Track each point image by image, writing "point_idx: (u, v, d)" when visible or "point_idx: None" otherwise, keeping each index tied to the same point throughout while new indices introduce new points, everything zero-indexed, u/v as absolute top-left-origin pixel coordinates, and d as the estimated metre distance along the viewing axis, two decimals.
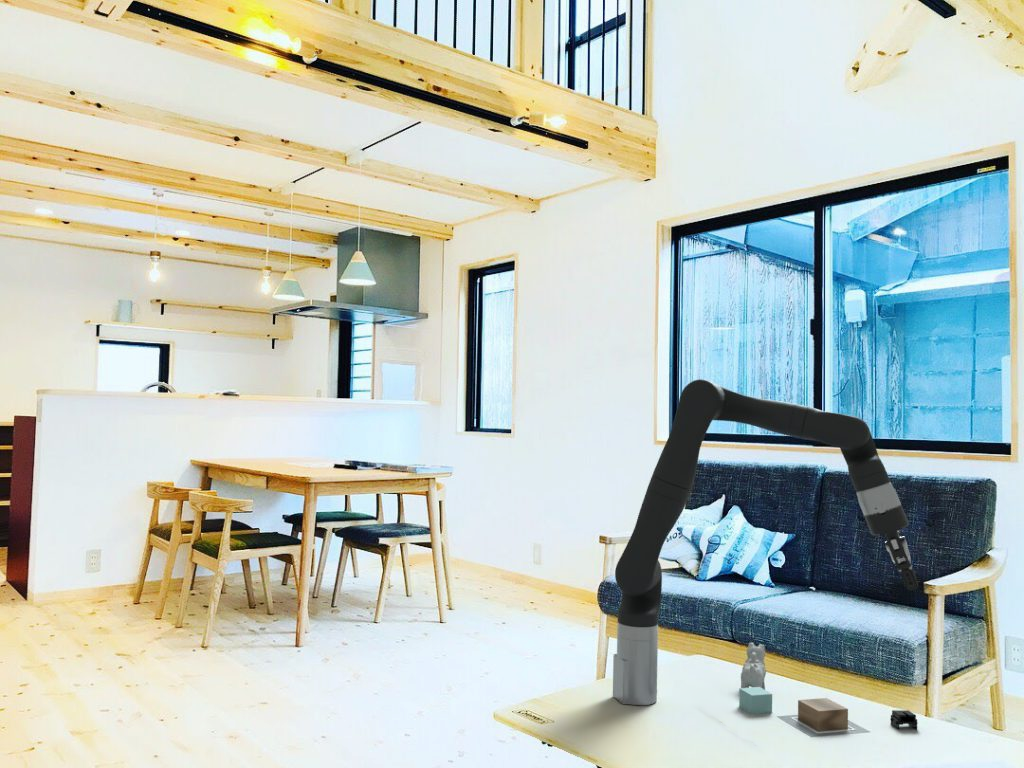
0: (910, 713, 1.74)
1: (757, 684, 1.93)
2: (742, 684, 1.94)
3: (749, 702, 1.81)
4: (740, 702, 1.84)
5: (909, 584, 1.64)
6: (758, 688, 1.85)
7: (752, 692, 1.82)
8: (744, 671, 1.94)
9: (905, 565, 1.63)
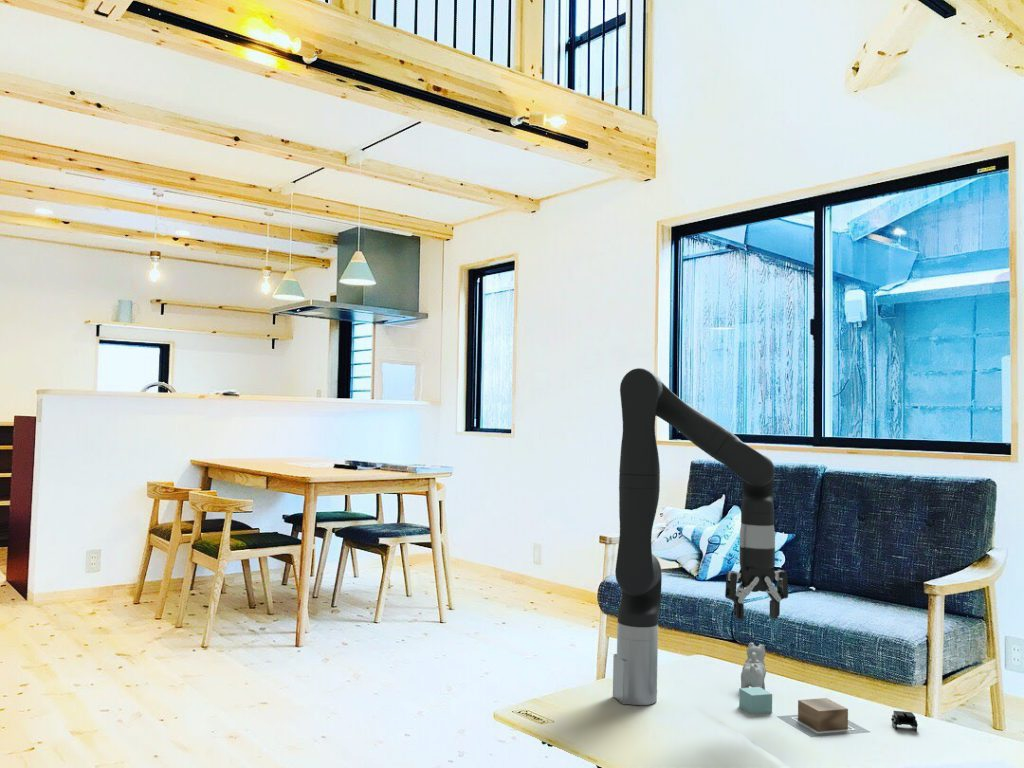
0: (911, 714, 1.73)
1: (757, 684, 1.93)
2: (742, 684, 1.94)
3: (749, 702, 1.81)
4: (740, 702, 1.84)
5: (734, 614, 1.83)
6: (758, 688, 1.85)
7: (752, 692, 1.82)
8: (744, 671, 1.94)
9: (729, 596, 1.82)
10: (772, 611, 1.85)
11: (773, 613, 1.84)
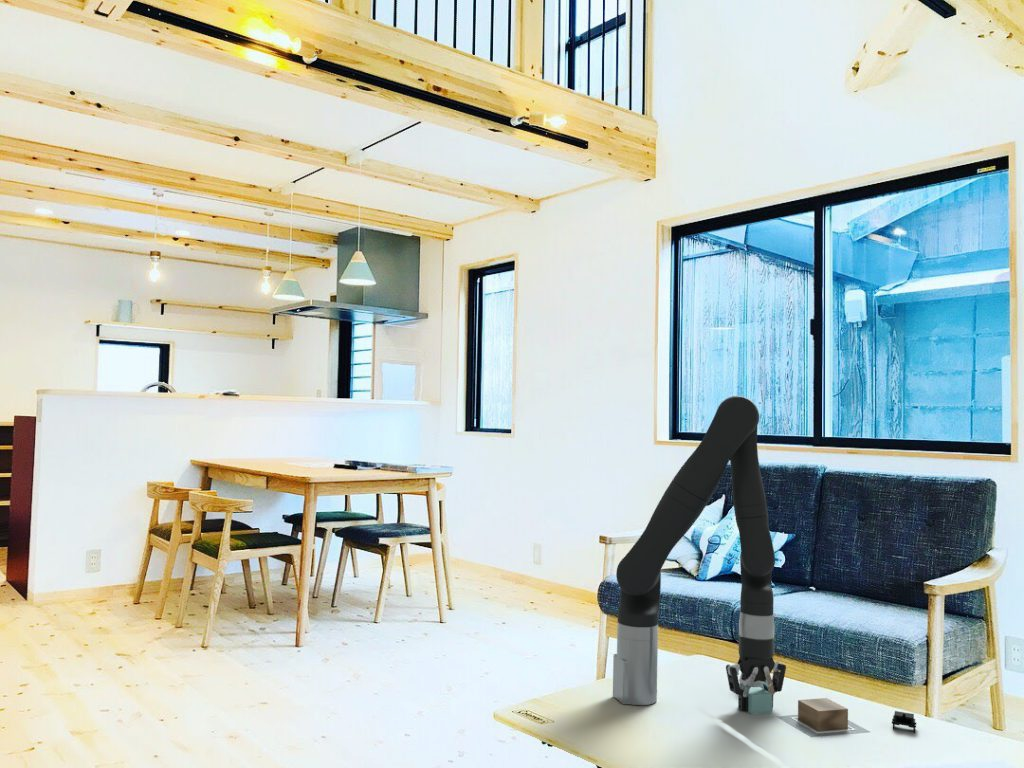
0: (910, 716, 1.72)
1: (757, 684, 1.93)
2: None
3: (749, 702, 1.81)
4: None
5: (739, 707, 1.82)
6: (758, 688, 1.85)
7: (752, 692, 1.82)
8: None
9: (733, 690, 1.81)
10: None
11: None
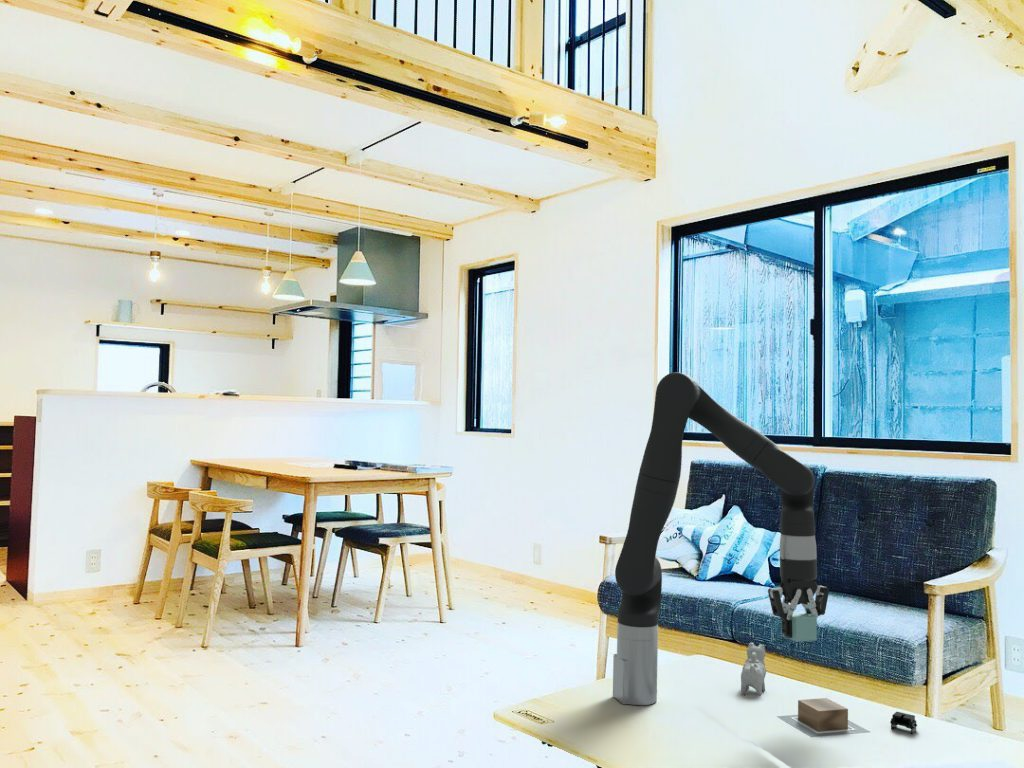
0: (909, 717, 1.72)
1: (757, 684, 1.93)
2: (742, 684, 1.94)
3: (793, 625, 1.77)
4: None
5: (783, 631, 1.78)
6: (801, 612, 1.81)
7: (796, 615, 1.78)
8: (744, 671, 1.94)
9: (777, 613, 1.77)
10: None
11: None
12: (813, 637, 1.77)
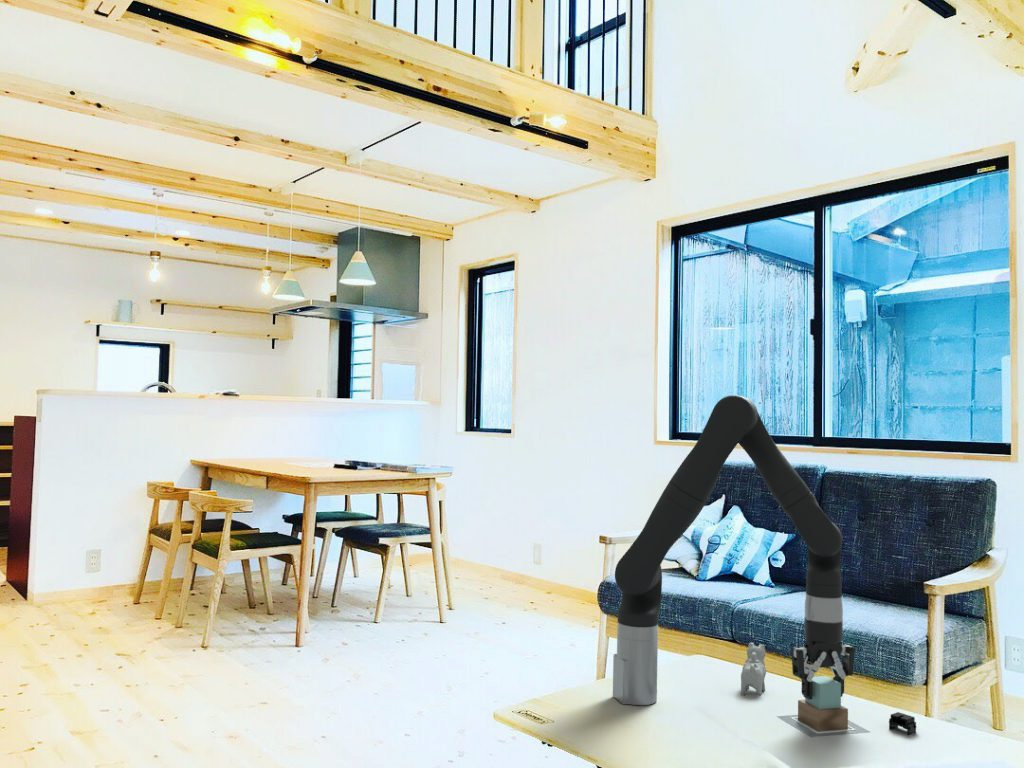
0: (906, 717, 1.71)
1: (757, 684, 1.93)
2: (742, 684, 1.94)
3: (817, 691, 1.73)
4: None
5: (802, 692, 1.74)
6: (825, 677, 1.77)
7: (820, 681, 1.74)
8: (744, 671, 1.94)
9: (797, 674, 1.73)
10: None
11: None
12: (837, 704, 1.73)
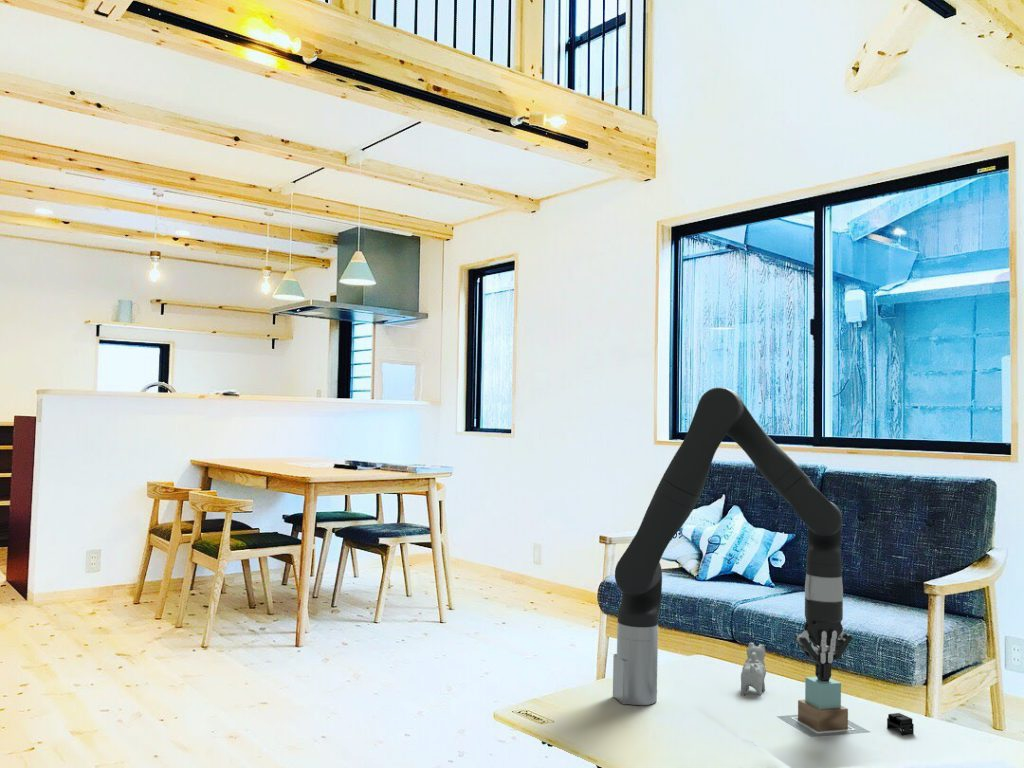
0: (902, 718, 1.71)
1: (757, 684, 1.93)
2: (742, 684, 1.94)
3: (817, 691, 1.73)
4: (806, 692, 1.76)
5: (816, 674, 1.75)
6: None
7: (820, 681, 1.74)
8: (744, 671, 1.94)
9: (811, 656, 1.74)
10: None
11: None
12: (837, 704, 1.73)
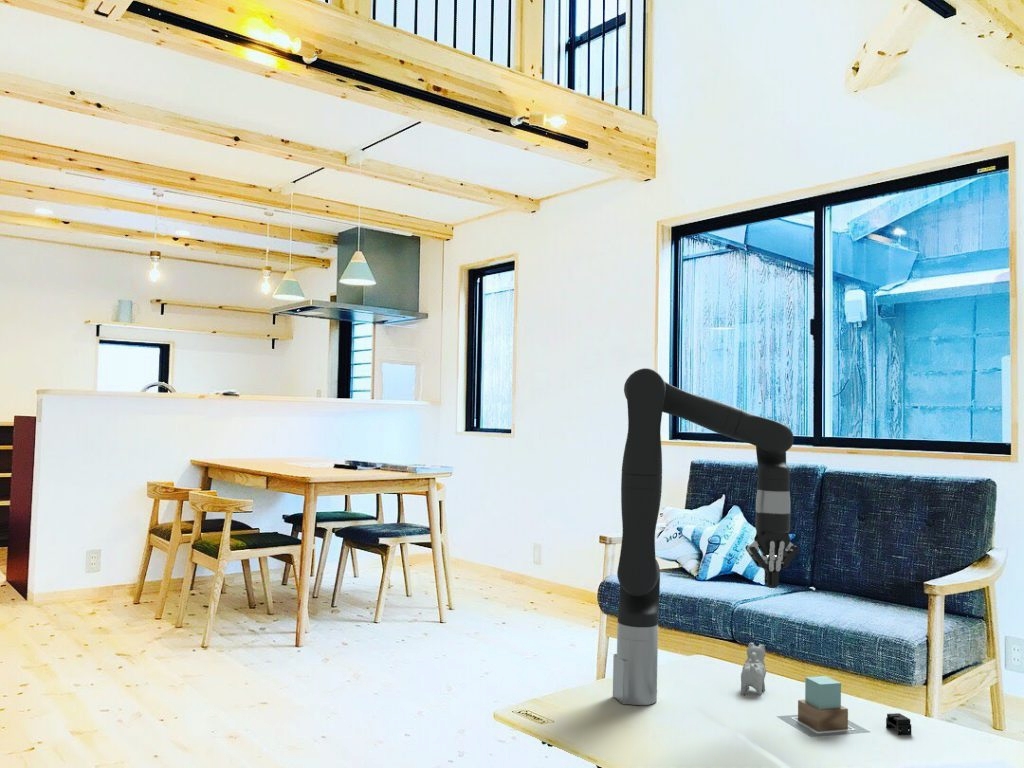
0: (900, 718, 1.70)
1: (757, 684, 1.93)
2: (742, 684, 1.94)
3: (817, 691, 1.73)
4: (806, 692, 1.76)
5: (765, 581, 1.89)
6: (825, 677, 1.77)
7: (820, 681, 1.74)
8: (744, 671, 1.94)
9: None
10: None
11: None
12: (837, 704, 1.73)
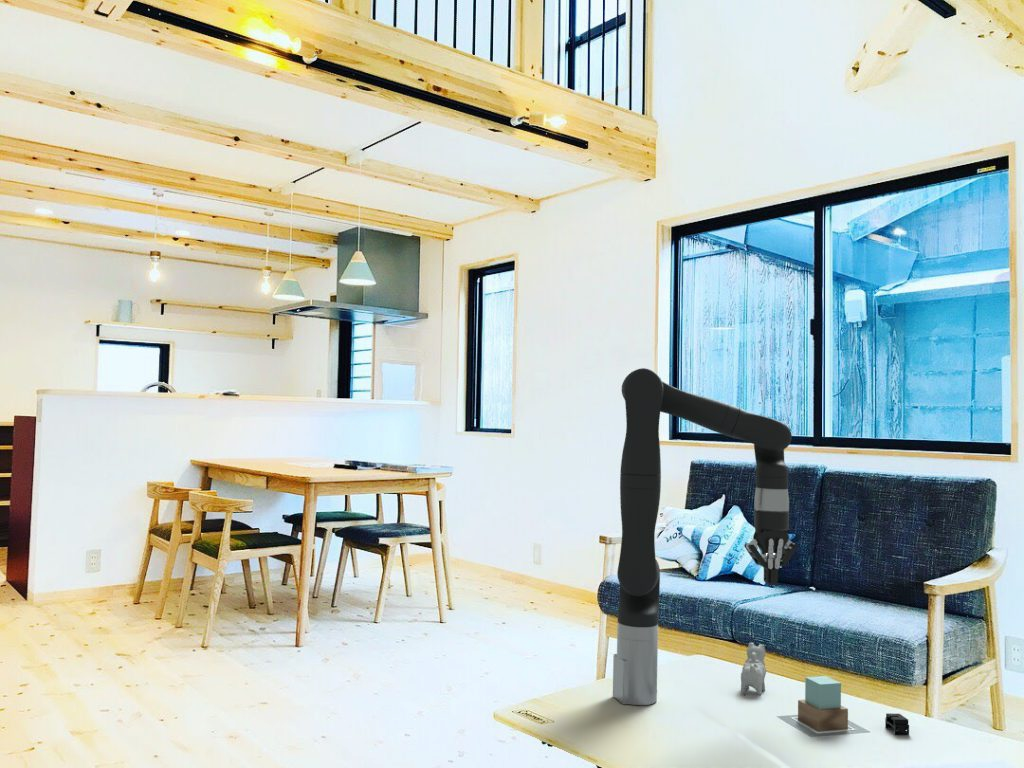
0: (897, 718, 1.70)
1: (757, 684, 1.93)
2: (742, 684, 1.94)
3: (817, 691, 1.73)
4: (806, 692, 1.76)
5: (764, 579, 1.90)
6: (825, 677, 1.77)
7: (820, 681, 1.74)
8: (744, 671, 1.94)
9: (759, 562, 1.89)
10: None
11: None
12: (837, 704, 1.73)
